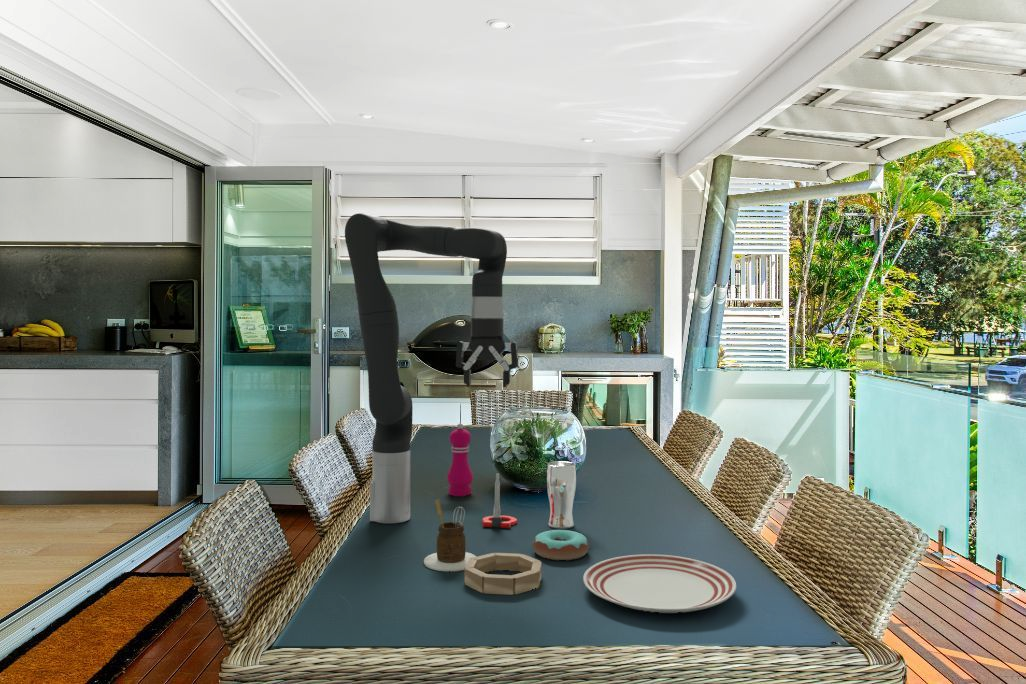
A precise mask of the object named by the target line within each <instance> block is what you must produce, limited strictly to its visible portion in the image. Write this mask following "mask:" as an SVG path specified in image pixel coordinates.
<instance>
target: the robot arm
mask: <svg viewBox="0 0 1026 684" xmlns="http://www.w3.org/2000/svg"><path fill="white" fill-rule="evenodd" d="M346 221H347V222H346V223H345V227H344V239H345V244H346V245H345V246H346V249H347V253H348V254H347V255H348V257H349V262H350V265H351V270H352V276H353V279H354V280H353V281H354V288H355V294H356V301H357V308H358V317H359V318H358V319H359V326H360V332H361V337H362V344H363V345H362V346H363V350H364V351H363V352H364V356H365V361H366V367H367V377H368V379H367V380H368V381H367V382H368V406H369V411H370V414H371V416H372V417H373V419H374V420H375V431H374V434H373V435H374V436H373V438H372V445H371V447H372V454H371V455H372V456H371V457H372V459H371V461H372V480H371V481H370V482H369V522H376V523H378V524H399V523H405V522H407V521H409V520H410V519H411V442H412V441H411V440H412V435H413V398H412V395H411V393H410V391H409V390H408V389H407V388H406V387H405V386H403V385H401V379H400V376H399V368H398V367H399V366H398V353H399V345H400V324H399V318H398V317H399V316H398V310H397V309H398V308H397V305H396V304H397V303H396V301H395V298H394V296H393V294H392V292H391V290H390V288H389V286H388V284H387V283H386V280H385V277H384V276H383V274H382V270H381V267H380V262H379V260H380V259H379V252H380V253H381V252H387V251H389V252H390V251H413V252H419V253H422V254H426V255H434V256H440V257H441V256H442V257H450V258H458V257H461V258H469V259H474V260H478V268H477V271H476V272H475V273H474V274H473V275H472V280H471V281H472V282H471V297H472V298H471V304H470V341H469V342H464V341H458V342H457V344H456V356H455V367H456V368H459V369H462V370H463V384H465V385H466V388H467V387H471V386H472V370H471V368H472V366H473V365H474V364H475V363H476V361H477V360H478V361H489V362H491V361H492V362H493V361H497V362H498V364H500V366H501V367H502V368H503V371H502V387H503V388H507V387H508V385H509V386H510V384H511V370H514V369H517V368H518V367H519V358H518V357H519V356H518V354H519V353H518V343H517V342H516V341H512V342H505V340H504V317H505V312H504V301H503V277H504V276H503V275H504V272H505V267H506V261H507V258H508V257H507V256H508V247H507V242H506V239H505V237H504V235H503V234H501V233H500V232H498V231H494V230H492V229H487V228H480V227H456V226H450V225H440V224H439V225H438V224H407V223H401V222H397V221H395V220H390V219H387V218H384V217H383V216H380V215H376V214H370V213H369V214H368V213H363V212H362V213H360V212H359V213H355V214H353V215H351V216H350V217H349V218H348V219H347V220H346ZM468 348H469V350H470V351H471V353H472V354H471V356H470V357H469V358H468V360H467V361H466V362H464V352H466V351H467V349H468ZM505 349H507V351H508V352H509V353H510V356H511V357H510V358H511V359H510V360H511V363H510V364H509V362H508V361H507V360H506V358H505V357H504V355H503V354H502V353H503V351H504V350H505Z"/></svg>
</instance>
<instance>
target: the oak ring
mask: <svg viewBox="0 0 1026 684" xmlns="http://www.w3.org/2000/svg"><path fill="white" fill-rule="evenodd" d="M542 567H543V566H542V560H539V559H537V558H533V557H531V556H529V555H527V554H522V553H512V552H511V553H510V552H509V553H508V552H491V553H487V554H482V555H479V556H477V557H473V558H471V559H469V560H468V562H467V564H466V566H465V568H464V570H463V571H464V573H463V576H464V583H465V584H464V586H467V587H468V588H471V589H473V590H475V591H477V592H479V593H481V594H489V595H490V594H492V595H511V596H512V595H518V594H522V593H526V592H528V591H532V589H533V590H536V589H539V588H540V586H541V582H540V581H542V575H543V574H542V570H543V569H542ZM493 570H494V571H503V570H509V571H508V572H518V573H516V574H512V575H511V574H510V575H509V574H490V573H489V571H491V572H493ZM519 571H520V572H519ZM485 572H487V573H485ZM521 572H522V573H521ZM488 573H489V574H488ZM535 588H536V589H535Z"/></svg>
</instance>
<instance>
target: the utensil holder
mask: <svg viewBox="0 0 1026 684" xmlns="http://www.w3.org/2000/svg"><path fill="white" fill-rule="evenodd" d="M434 502H435V507H436V511H437V516H439V519H440V522H441V523H440V524H439V525H438V528H437V529H438V534H437V536H436V553H437V559H438V560H439V561H441V562H445V563H456V562H460V561H462V560H464V559H465V553H466V552H467V551H466V548H467V547H466V545H467V544H466V542H467V541H466V534H465V533H464V532H465V527H464V524H463V522H464V521H465V520H464V519H465V517H463V518H462V514H460V517H459V518H462V520H463V521H461V519H459V521H457V519H458V518H455V520H452V521H447V522H444V521H443V516H442V515H443V511H442V508H441V503H440V499H438V498H437V499H436V500H435V501H434ZM460 509H461V512H460V513H463V511H464V513H463V516H465V514H466V512H465V509H464V507H462V506H457V509H456V510H457V512H459V510H460ZM456 510H454V511H453V517H452V519H454V516H455V512H456ZM455 517H458V513H456V516H455Z"/></svg>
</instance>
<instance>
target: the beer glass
mask: <svg viewBox="0 0 1026 684" xmlns="http://www.w3.org/2000/svg"><path fill="white" fill-rule="evenodd" d="M546 473H547V474H546V489H547V496H548V501H549V508H550V511H549V512H550V514H549V515H550V516H549V520H548V526H549V527H550V528H553V529H556V530H568V529H572V528H573V527H574V526H575V522H574V518H573V505H574V500H575V494H576V487H577V475H576V474H577V473H576V463H575V462H572V461H566V460H564V461H563V460H562V461H561V460H557V461H556V460H555V461H550V462H548V464H547V472H546Z"/></svg>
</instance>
